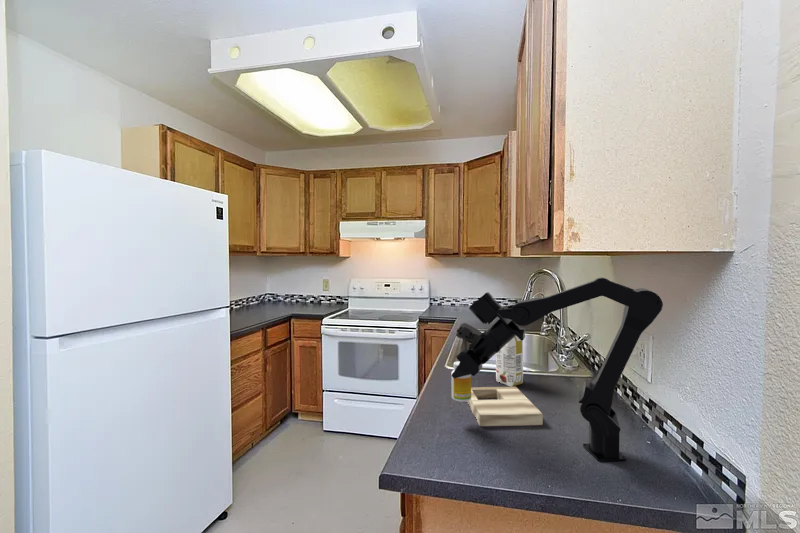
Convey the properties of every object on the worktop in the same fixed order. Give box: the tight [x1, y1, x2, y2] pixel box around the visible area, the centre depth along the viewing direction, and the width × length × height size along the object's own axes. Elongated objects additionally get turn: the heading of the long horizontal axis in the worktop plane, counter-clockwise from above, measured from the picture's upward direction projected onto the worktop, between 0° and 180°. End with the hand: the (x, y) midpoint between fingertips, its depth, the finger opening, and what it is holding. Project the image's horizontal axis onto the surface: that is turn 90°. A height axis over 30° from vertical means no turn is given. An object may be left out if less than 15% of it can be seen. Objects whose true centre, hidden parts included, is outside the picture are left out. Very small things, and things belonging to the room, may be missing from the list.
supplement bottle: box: [450, 360, 472, 403], centre depth 95 cm, size 5×5×10 cm
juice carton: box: [495, 336, 524, 387], centre depth 125 cm, size 8×9×19 cm
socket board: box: [466, 386, 544, 427], centre depth 103 cm, size 20×17×3 cm
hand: (456, 373), depth 96 cm, fingers closed on supplement bottle, 5 cm apart
